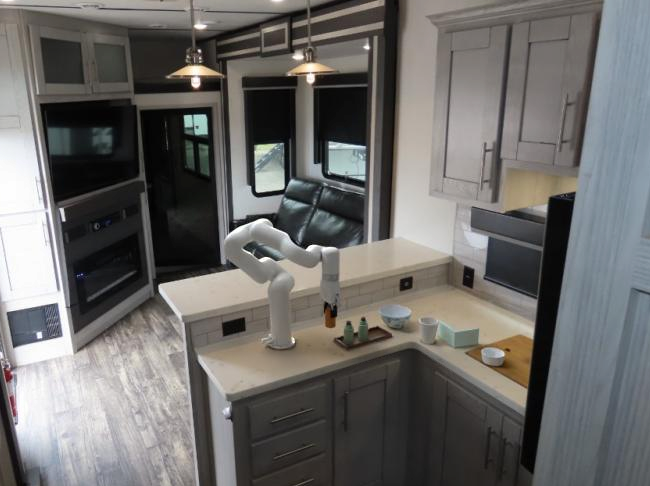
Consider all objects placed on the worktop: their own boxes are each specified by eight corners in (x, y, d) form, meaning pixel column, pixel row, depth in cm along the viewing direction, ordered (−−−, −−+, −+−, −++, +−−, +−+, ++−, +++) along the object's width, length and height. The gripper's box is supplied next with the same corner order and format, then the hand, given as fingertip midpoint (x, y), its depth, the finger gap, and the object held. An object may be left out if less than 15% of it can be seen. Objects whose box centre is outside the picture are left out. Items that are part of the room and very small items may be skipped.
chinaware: (379, 331, 240) (380, 316, 238) (378, 318, 254) (378, 304, 252) (412, 333, 237) (413, 317, 235) (409, 319, 252) (409, 305, 250)
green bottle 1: (347, 346, 227) (347, 324, 224) (341, 341, 231) (341, 320, 228) (355, 343, 229) (355, 322, 226) (349, 339, 233) (349, 318, 230)
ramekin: (477, 362, 209) (477, 352, 208) (485, 354, 215) (486, 345, 214) (499, 369, 203) (500, 359, 202) (507, 361, 209) (508, 351, 208)
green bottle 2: (361, 341, 230) (362, 320, 228) (355, 337, 234) (355, 316, 232) (370, 339, 232) (370, 318, 230) (363, 335, 236) (364, 314, 234)
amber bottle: (328, 329, 221) (328, 306, 218) (323, 325, 225) (323, 303, 222) (337, 326, 222) (337, 304, 220) (331, 322, 227) (331, 301, 224)
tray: (346, 350, 224) (346, 346, 223) (333, 341, 233) (333, 337, 232) (391, 337, 234) (392, 333, 234) (377, 329, 243) (377, 325, 243)
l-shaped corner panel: (478, 344, 224) (479, 328, 222) (453, 347, 222) (454, 332, 220) (461, 332, 236) (462, 317, 234) (438, 336, 233) (439, 321, 231)
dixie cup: (435, 346, 224) (436, 326, 221) (416, 342, 228) (416, 322, 225) (439, 339, 230) (440, 318, 228) (421, 335, 235) (422, 315, 232)
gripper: (312, 271, 223) (312, 310, 228) (334, 283, 208) (334, 324, 213) (327, 269, 226) (327, 306, 231) (349, 280, 212) (348, 320, 216)
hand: (330, 314), depth 222 cm, fingers closed on amber bottle, 4 cm apart
